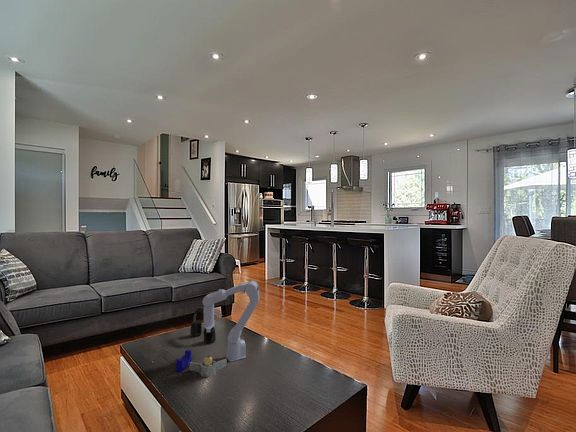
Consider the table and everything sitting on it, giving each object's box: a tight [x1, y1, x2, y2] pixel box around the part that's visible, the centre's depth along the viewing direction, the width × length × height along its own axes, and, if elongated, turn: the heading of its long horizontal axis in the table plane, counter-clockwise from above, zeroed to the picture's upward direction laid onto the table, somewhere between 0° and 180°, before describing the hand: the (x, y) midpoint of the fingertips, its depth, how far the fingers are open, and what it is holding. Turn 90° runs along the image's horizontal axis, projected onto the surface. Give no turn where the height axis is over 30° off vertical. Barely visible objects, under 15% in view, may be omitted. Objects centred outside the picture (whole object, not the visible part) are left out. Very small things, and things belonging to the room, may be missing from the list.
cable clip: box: [175, 349, 193, 373], centre depth 163 cm, size 12×4×6 cm, turn 175°
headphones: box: [189, 306, 217, 344], centre depth 200 cm, size 22×6×20 cm, turn 48°
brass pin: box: [203, 355, 213, 366], centre depth 156 cm, size 4×4×8 cm
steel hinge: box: [189, 358, 228, 378], centre depth 159 cm, size 18×12×5 cm
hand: (208, 340), depth 173 cm, fingers open, 7 cm apart
